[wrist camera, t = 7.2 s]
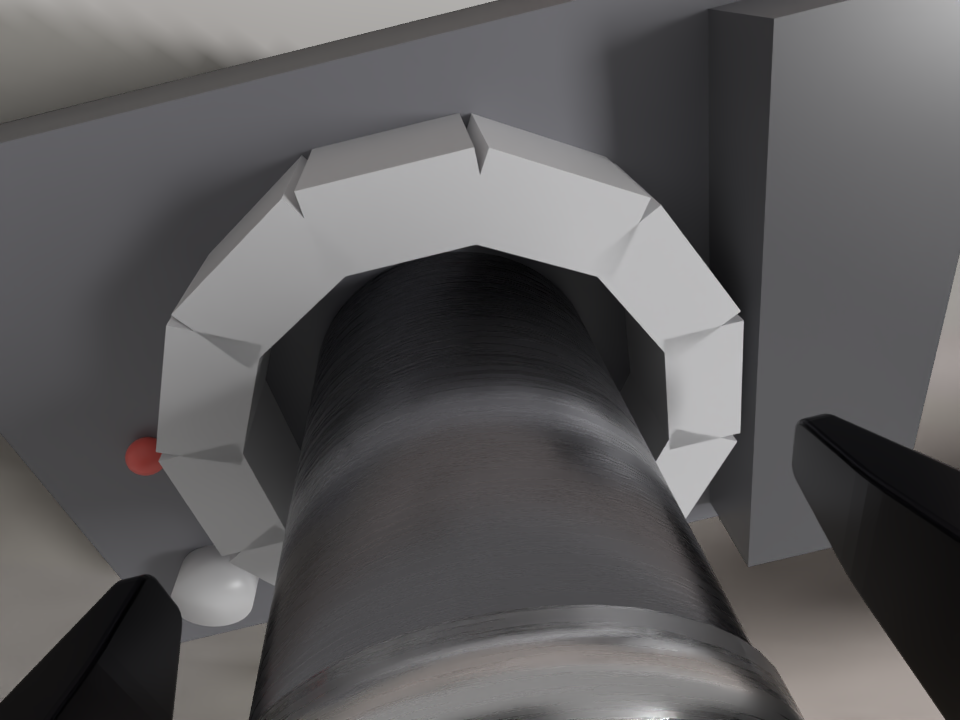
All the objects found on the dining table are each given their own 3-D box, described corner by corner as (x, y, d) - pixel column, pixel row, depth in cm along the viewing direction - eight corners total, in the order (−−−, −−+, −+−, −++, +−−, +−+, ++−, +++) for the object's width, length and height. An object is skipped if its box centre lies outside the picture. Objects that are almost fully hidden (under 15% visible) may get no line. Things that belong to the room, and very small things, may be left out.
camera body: (814, -79, 11) (1077, -104, 7) (779, 407, 17) (905, 554, 13) (-66, 140, 11) (-342, 248, 7) (206, 544, 17) (147, 731, 13)
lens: (577, 212, 10) (1181, 1037, 2) (607, 449, 13) (927, 1180, 5) (266, 288, 10) (-144, 1326, 2) (363, 507, 13) (316, 1312, 5)
